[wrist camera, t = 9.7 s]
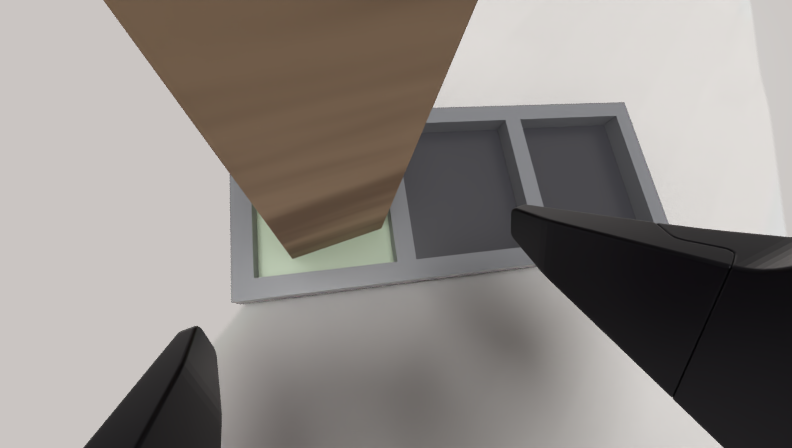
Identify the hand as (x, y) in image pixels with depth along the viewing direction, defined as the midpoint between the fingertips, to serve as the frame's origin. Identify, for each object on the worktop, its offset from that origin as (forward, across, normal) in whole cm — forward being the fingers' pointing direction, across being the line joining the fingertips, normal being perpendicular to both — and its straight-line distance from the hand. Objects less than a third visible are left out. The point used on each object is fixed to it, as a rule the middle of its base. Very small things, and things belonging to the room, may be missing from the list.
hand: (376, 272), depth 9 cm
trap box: (+9, -8, +4) cm, 13 cm away
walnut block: (+10, 0, +2) cm, 10 cm away
